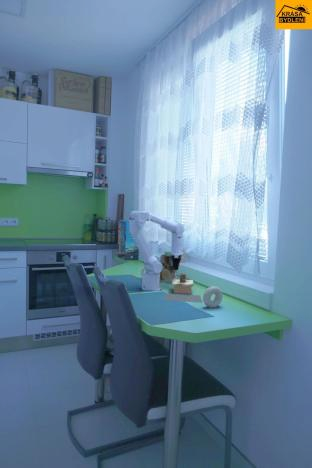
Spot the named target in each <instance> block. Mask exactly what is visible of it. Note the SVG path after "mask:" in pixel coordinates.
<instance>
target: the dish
mask: <svg viewBox="0 0 312 468" xmlns="http://www.w3.org/2000/svg"><path fill="white" fill-rule="evenodd" d="M192 287H193V286H180V285H173V294H181V295H192Z"/></svg>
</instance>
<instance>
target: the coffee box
mask: <svg viewBox="0 0 312 468" xmlns="http://www.w3.org/2000/svg"><path fill="white" fill-rule="evenodd" d="M171 255H172V254H161V255H160V257H159V259H160V261H159V262H160V263H161V264H162V271H161V272H160V279H159V283H169V284H172V279H177V275H178V274H177V273H178V270H174V267H173V261H172V259H171V257H172V256H171Z"/></svg>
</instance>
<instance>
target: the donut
mask: <svg viewBox="0 0 312 468" xmlns="http://www.w3.org/2000/svg"><path fill="white" fill-rule="evenodd" d="M212 295H214V298H213V300H212ZM223 297H224V296H223V291H222V290H221V289H220V288H219V287H218V286H216V285H215V286H212V285H211V286H209V287H207V289H206V290H205V291H204V293H203V296H202V302H203V304H204V305H205V306H206V307H207V308H208V309H209V308H210V309H214V308H217V307H219V306H220V304H221V303H222V301H223Z"/></svg>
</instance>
